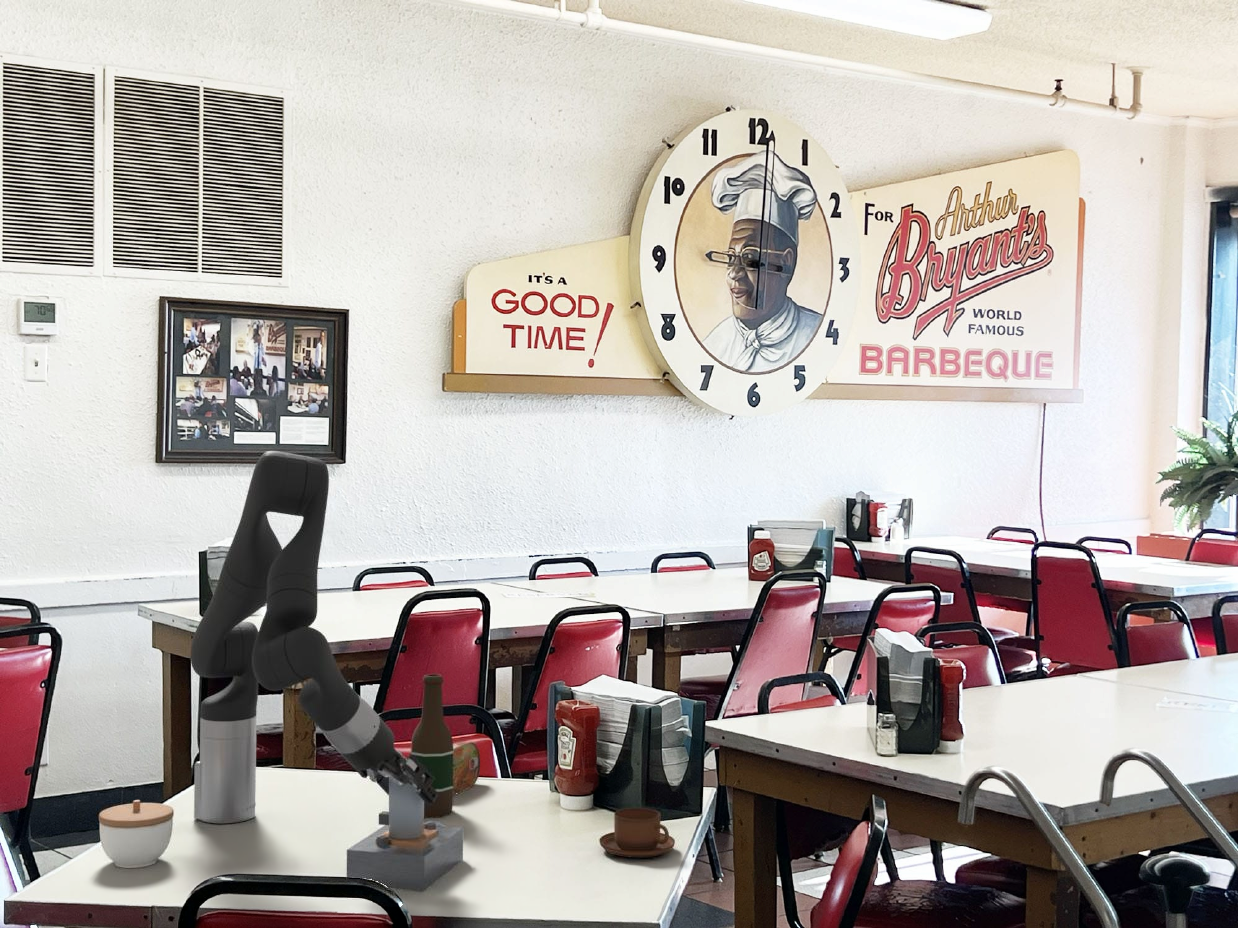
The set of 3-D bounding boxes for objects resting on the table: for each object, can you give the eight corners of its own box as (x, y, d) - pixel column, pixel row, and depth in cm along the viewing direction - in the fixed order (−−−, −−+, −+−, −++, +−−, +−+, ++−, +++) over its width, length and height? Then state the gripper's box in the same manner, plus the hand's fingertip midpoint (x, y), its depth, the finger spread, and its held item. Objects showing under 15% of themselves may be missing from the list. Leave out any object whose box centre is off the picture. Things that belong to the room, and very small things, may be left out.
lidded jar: (181, 866, 207) (182, 803, 207) (106, 876, 201) (107, 812, 201) (163, 848, 216) (163, 788, 216) (91, 858, 210) (92, 797, 210)
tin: (444, 800, 249) (444, 753, 249) (428, 798, 250) (429, 752, 250) (481, 782, 263) (482, 738, 263) (466, 780, 264) (467, 737, 264)
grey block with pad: (346, 883, 199) (346, 841, 199) (403, 843, 220) (404, 805, 220) (424, 891, 197) (424, 847, 197) (474, 850, 217) (475, 810, 217)
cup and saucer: (684, 846, 222) (684, 808, 222) (661, 867, 211) (661, 826, 210) (614, 838, 226) (614, 801, 226) (588, 858, 215) (588, 819, 214)
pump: (373, 836, 204) (374, 769, 204) (387, 827, 209) (388, 762, 209) (415, 839, 203) (416, 772, 203) (429, 830, 208) (429, 764, 208)
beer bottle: (445, 819, 235) (447, 679, 235) (402, 816, 237) (404, 677, 237) (459, 808, 243) (461, 672, 243) (417, 805, 245) (419, 670, 244)
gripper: (403, 715, 195) (460, 782, 204) (338, 703, 204) (395, 767, 213) (374, 759, 191) (433, 825, 200) (309, 744, 200) (368, 808, 209)
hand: (414, 795), depth 207 cm, fingers open, 8 cm apart
